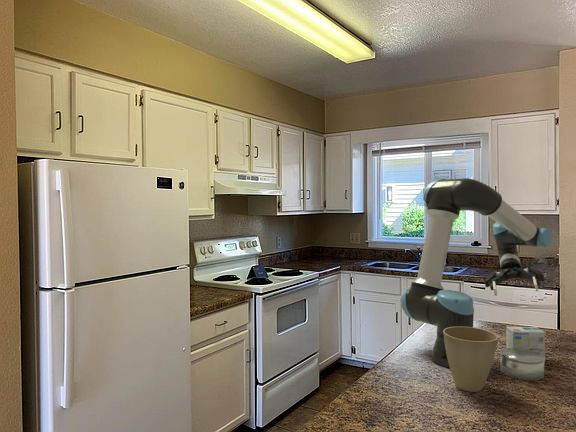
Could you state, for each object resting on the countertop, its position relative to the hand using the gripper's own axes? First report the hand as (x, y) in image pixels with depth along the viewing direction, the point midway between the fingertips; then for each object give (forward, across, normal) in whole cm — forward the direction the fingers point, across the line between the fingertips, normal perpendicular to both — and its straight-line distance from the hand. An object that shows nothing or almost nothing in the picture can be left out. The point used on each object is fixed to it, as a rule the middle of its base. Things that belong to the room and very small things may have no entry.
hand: (515, 290), depth 162 cm
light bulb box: (+14, +2, -20) cm, 24 cm away
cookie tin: (+27, +3, -15) cm, 31 cm away
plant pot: (+44, +17, -7) cm, 48 cm away
